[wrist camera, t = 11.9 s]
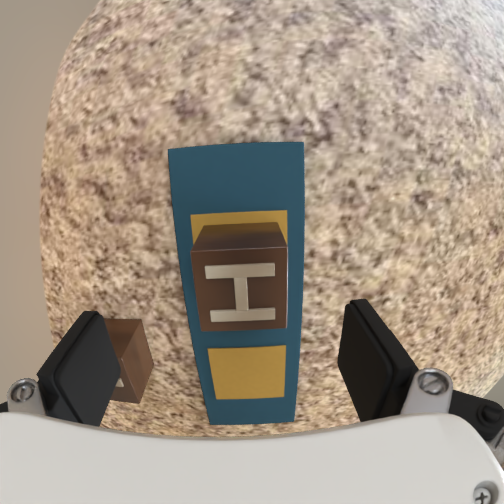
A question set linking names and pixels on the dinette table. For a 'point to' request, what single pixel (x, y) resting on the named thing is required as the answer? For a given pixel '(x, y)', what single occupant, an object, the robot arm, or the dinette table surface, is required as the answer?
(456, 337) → the dinette table surface
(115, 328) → the tile
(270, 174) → the word mat
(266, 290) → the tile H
